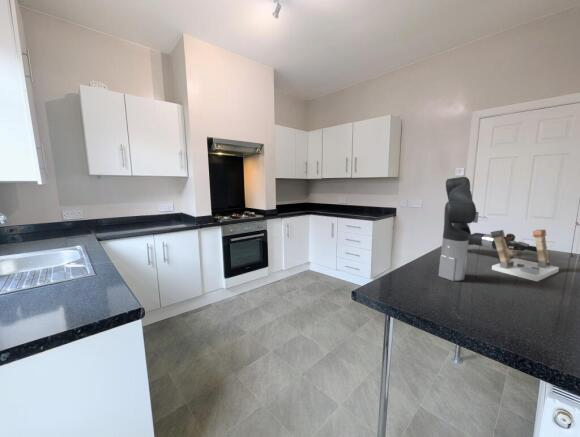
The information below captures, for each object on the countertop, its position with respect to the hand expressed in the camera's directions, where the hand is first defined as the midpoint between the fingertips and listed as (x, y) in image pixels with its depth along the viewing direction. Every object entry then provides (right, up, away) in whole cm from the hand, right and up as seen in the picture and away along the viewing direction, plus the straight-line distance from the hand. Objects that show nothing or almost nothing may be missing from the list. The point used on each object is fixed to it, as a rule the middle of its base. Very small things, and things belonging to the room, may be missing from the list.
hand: (538, 249), depth 116 cm
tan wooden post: (-17, -7, -2) cm, 18 cm away
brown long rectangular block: (+1, -7, -1) cm, 7 cm away
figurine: (+8, -6, +25) cm, 27 cm away
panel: (-8, -10, -1) cm, 12 cm away
